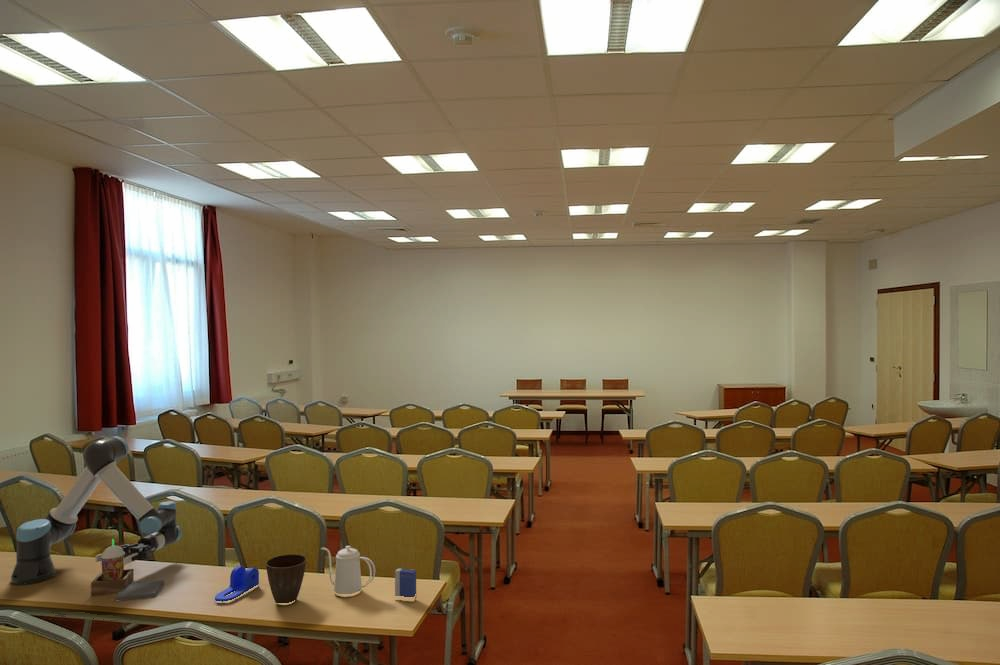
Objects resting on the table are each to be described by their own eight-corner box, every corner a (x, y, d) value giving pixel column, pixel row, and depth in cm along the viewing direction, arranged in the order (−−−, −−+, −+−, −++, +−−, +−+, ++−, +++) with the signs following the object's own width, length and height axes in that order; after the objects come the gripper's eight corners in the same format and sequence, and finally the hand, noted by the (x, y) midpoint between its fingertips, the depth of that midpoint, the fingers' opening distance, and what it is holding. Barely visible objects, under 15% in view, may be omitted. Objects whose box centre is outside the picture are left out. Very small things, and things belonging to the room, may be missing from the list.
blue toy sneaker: (241, 585, 255) (241, 563, 255) (258, 587, 252) (258, 565, 253) (210, 603, 237) (210, 579, 238) (228, 605, 235) (228, 582, 235)
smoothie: (95, 590, 249) (96, 541, 249) (114, 582, 257) (114, 535, 257) (110, 593, 246) (111, 543, 247) (129, 585, 254) (129, 537, 255)
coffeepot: (327, 584, 255) (327, 538, 256) (381, 591, 248) (381, 544, 248) (312, 594, 245) (312, 547, 245) (367, 602, 238) (367, 553, 238)
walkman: (416, 599, 240) (416, 569, 240) (413, 602, 237) (413, 571, 237) (397, 597, 242) (397, 567, 242) (394, 600, 239) (394, 569, 239)
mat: (125, 587, 252) (125, 583, 252) (163, 583, 256) (163, 579, 256) (115, 601, 239) (115, 597, 239) (155, 596, 243) (155, 593, 243)
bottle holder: (101, 584, 256) (101, 572, 256) (133, 580, 259) (133, 568, 259) (90, 595, 244) (90, 582, 244) (124, 591, 248) (125, 579, 248)
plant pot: (287, 591, 248) (287, 551, 248) (314, 598, 241) (314, 557, 241) (257, 605, 235) (257, 563, 235) (285, 613, 228) (285, 570, 228)
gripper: (174, 554, 268) (135, 572, 247) (126, 549, 274) (84, 567, 253) (174, 537, 268) (135, 553, 247) (127, 533, 274) (85, 548, 253)
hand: (110, 560), depth 250 cm, fingers open, 13 cm apart
